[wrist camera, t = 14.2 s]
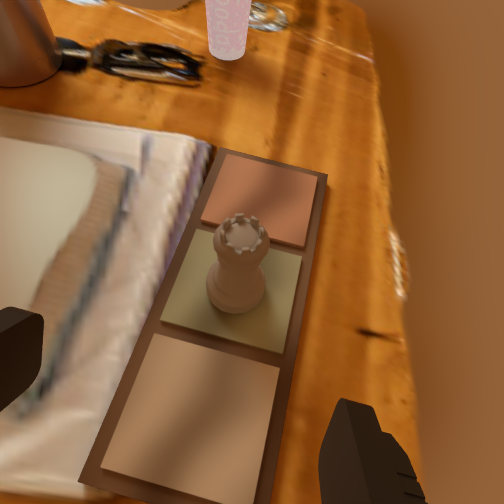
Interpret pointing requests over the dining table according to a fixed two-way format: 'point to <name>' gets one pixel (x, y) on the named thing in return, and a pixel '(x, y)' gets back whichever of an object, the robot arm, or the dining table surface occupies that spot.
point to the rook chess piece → (238, 265)
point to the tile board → (215, 352)
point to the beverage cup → (227, 27)
